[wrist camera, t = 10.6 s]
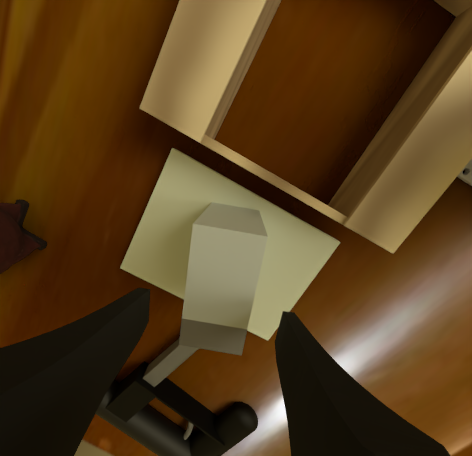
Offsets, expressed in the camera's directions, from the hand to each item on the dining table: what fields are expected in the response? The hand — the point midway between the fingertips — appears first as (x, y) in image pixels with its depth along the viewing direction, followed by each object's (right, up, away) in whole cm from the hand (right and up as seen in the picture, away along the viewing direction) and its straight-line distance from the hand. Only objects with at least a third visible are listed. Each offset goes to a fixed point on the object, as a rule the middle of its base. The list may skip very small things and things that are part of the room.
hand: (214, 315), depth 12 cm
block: (+1, +3, +8) cm, 8 cm away
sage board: (0, +2, +9) cm, 9 cm away
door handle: (-6, -13, +14) cm, 20 cm away
